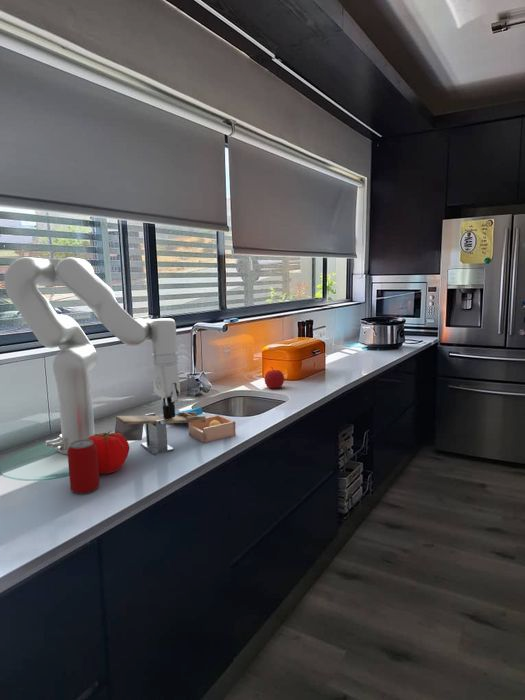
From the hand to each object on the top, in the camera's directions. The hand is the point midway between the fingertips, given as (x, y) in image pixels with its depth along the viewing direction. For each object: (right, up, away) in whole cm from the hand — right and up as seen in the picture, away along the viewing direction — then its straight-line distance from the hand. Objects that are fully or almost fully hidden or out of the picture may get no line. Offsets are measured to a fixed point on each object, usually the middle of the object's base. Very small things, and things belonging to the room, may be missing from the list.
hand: (169, 417), depth 147 cm
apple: (+34, +3, +75) cm, 83 cm away
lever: (-3, -6, -1) cm, 6 cm away
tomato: (-14, -12, -17) cm, 25 cm away
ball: (+13, -5, +10) cm, 17 cm away
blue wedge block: (+2, -6, +22) cm, 23 cm away
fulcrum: (-4, -9, -1) cm, 10 cm away
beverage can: (-15, -14, -29) cm, 36 cm away
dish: (+12, -7, +10) cm, 17 cm away
